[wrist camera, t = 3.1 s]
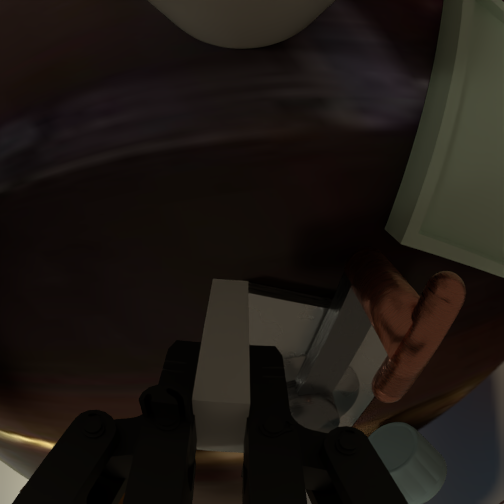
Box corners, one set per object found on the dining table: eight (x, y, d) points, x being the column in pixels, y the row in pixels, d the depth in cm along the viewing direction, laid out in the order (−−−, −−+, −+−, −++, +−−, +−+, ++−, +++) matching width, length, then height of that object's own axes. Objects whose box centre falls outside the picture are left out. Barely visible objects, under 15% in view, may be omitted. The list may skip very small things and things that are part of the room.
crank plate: (199, 432, 24) (198, 444, 23) (242, 280, 18) (242, 292, 17) (325, 444, 25) (328, 455, 24) (413, 314, 19) (421, 325, 18)
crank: (317, 423, 22) (332, 501, 15) (255, 418, 21) (258, 502, 14) (422, 228, 15) (505, 295, 9) (342, 202, 15) (412, 270, 8)
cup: (429, 401, 22) (446, 441, 25) (354, 420, 26) (385, 456, 29) (431, 475, 16) (446, 499, 19) (344, 489, 20) (379, 511, 23)
